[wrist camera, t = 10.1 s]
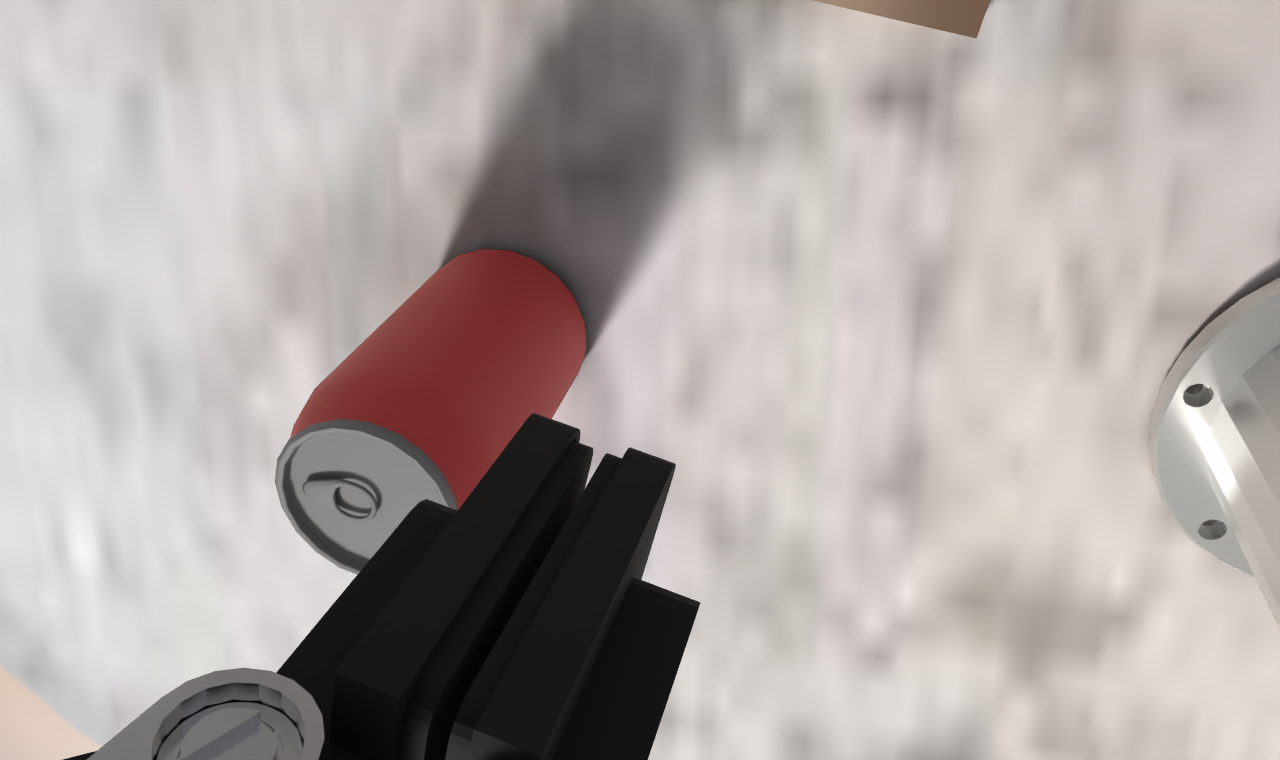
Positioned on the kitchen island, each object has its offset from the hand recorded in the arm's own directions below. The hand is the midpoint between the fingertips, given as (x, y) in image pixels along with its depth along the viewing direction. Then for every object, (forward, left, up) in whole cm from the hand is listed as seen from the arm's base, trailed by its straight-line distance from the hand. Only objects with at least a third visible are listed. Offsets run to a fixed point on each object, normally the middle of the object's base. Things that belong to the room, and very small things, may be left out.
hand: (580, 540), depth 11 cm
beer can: (+8, +11, -23) cm, 27 cm away
